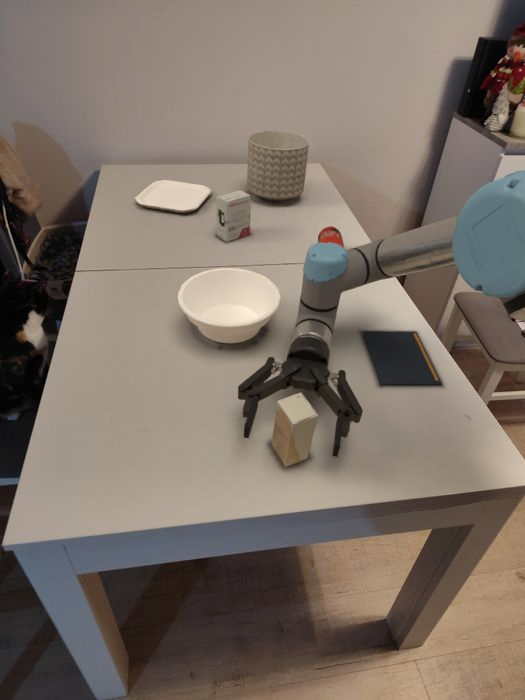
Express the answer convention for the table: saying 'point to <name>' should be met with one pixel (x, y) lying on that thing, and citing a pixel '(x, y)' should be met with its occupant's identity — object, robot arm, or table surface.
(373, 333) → the desk mat
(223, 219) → the ink box
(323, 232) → the beverage can
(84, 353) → the table surface
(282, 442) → the box
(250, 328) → the bowl
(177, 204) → the plate
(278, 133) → the planter
